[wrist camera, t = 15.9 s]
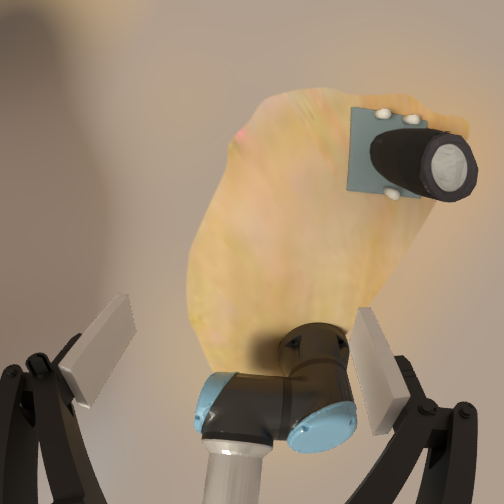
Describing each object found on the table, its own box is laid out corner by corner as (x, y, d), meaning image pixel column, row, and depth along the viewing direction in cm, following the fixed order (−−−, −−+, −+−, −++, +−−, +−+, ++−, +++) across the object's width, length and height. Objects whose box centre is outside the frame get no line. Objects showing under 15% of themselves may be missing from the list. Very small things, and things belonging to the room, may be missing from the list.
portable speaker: (421, 159, 42) (492, 178, 24) (383, 190, 45) (442, 225, 27) (394, 117, 40) (460, 113, 22) (354, 149, 43) (405, 160, 25)
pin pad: (418, 198, 46) (430, 204, 41) (346, 190, 46) (354, 196, 42) (424, 120, 40) (438, 120, 36) (351, 106, 41) (359, 103, 36)
